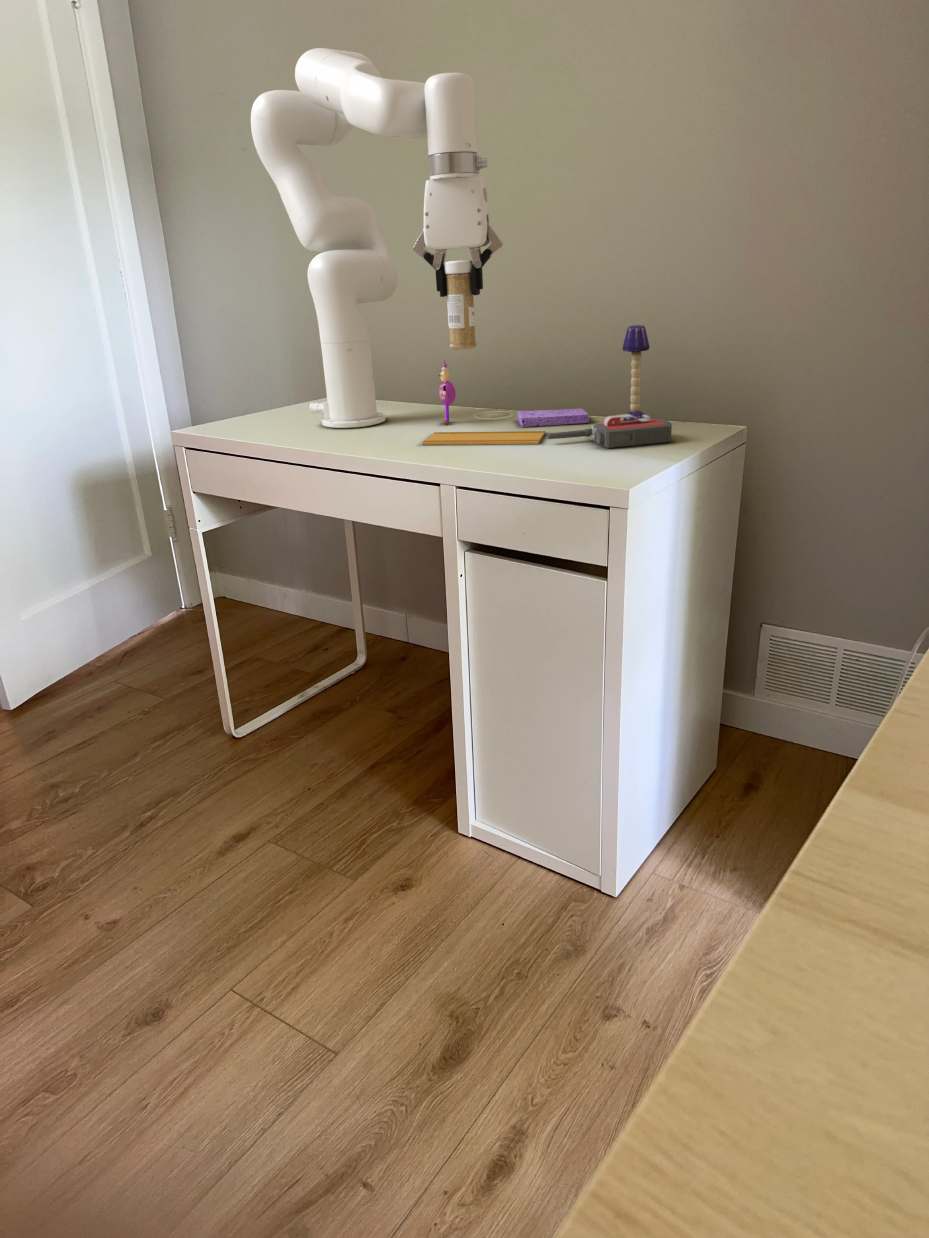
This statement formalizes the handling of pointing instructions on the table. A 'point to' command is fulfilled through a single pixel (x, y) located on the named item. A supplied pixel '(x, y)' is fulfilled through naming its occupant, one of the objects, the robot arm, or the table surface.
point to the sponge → (552, 417)
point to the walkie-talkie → (623, 431)
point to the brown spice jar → (460, 304)
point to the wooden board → (484, 438)
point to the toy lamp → (635, 365)
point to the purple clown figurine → (446, 391)
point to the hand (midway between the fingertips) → (460, 294)
